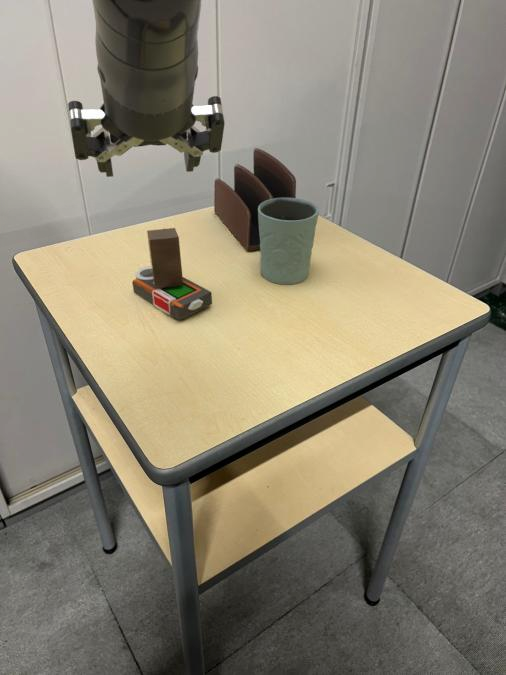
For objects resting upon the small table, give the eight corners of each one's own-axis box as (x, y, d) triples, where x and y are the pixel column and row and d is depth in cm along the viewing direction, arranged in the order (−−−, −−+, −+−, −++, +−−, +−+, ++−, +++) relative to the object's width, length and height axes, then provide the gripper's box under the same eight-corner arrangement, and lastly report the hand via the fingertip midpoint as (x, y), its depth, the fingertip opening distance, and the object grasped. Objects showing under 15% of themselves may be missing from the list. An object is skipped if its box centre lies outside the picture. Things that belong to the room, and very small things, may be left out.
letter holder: (256, 206, 116) (257, 142, 107) (294, 244, 101) (300, 173, 92) (213, 212, 112) (212, 146, 104) (247, 252, 98) (248, 179, 89)
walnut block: (155, 288, 81) (149, 239, 77) (152, 277, 84) (146, 230, 80) (183, 285, 82) (178, 236, 78) (179, 274, 85) (175, 227, 81)
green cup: (273, 291, 87) (277, 225, 79) (245, 265, 94) (246, 202, 87) (323, 278, 91) (331, 213, 83) (293, 254, 98) (297, 192, 91)
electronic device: (156, 260, 89) (212, 290, 80) (158, 276, 91) (213, 306, 82) (122, 274, 85) (178, 307, 77) (125, 289, 87) (180, 323, 78)
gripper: (229, 24, 42) (208, 131, 58) (47, 24, 39) (77, 137, 55) (243, 108, 42) (218, 194, 57) (58, 115, 39) (85, 203, 54)
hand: (149, 166), depth 56 cm, fingers open, 8 cm apart
